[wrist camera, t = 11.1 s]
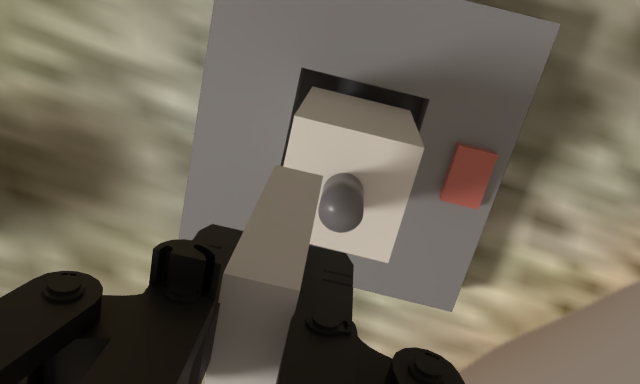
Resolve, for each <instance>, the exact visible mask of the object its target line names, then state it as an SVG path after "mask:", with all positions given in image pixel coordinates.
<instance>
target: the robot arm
mask: <svg viewBox="0 0 640 384" xmlns="http://www.w3.org/2000/svg"><path fill="white" fill-rule="evenodd" d="M322 180H323V176H322V175H317V174H313V173H309V172H304V171H300V170H296V169H292V168H287V167H283V166H279V165H275V167H274V169H273V171H272V173H271V175H270V178H269V180H268V182H267V184H266V186H265V188H264V190H263V192H262V194H261V196H260V198H259V200H258V202H257V204H256V207H255V209H254V211H253V213H252V215H251V217H250V219H249V221H248V223H247V225H246V227H245V229H244V231H241V230H237V229H233V228H228V227H224V226H220V225H215V224H211V225H209V226H207V227H205V228H203V229H201V230H199V231H198V233H197V234H196V236H195V237H194V239H193V240H186V239H180V240H170V241H166V242H163V243H160V244H159V245H158V246H156V247H155V248H154V249H153V254H152V263H151V272H150V281H149V286H148V288H147V289H146V290H145V292H144V293H143V294H138V295H129V296H111V295H102V293H103V287H102V285H101V284H100V282H99V280H97V279H96V278H94V277H92V276H91V275H88V274H85V273H81V272H77V271H59V272H52V273H47V274H44V275H42V276H39V277H37V278H34V279H33V280H31V281H29V282H27V283H25V284H24V285H22V286H20V287H18V288H17V289H15V290H13V291H11V292H10V293H8V294H6V295H4V296H3V297H1V298H0V384H201V382H202V380H203V377H204V375H205V372H206V376H205V382H204V384H465V383H464V381H463V379H462V378H461V376H460V374H459V373H458V371H457V370H456V369H455V367H454V366H453V365H452V364H451V363H450V362H448V361H447V360H446V359H444V358H443V357H442V356H440V355H438V354H436V353H433V352H431V351H429V350H425V349H420V348H404V349H402V350H400V351H398V352H396V353H395V355H394V357H393V359H392V358H390V357H388V356H385V355H383V354H381V353H379V352H377V351H375V350H374V349H372V348H370V347H369V346H367V345H366V344H365V343H364V342H362V341H361V340H360V338H359V337H358V336H357V329H356V326H355V324H354V322H353V321H352V305H353V271H354V265H353V263H352V262H351V260H350V258H349V257H348V255H347V254H346V253H343V252H339V251H334V250H330V249H326V248H321V247H317V246H313V245H309V244H310V239H311V234H312V229H313V224H314V219H315V214H316V209H317V204H318V200H319V195H320V190H321V185H322ZM206 370H207V371H206Z"/></svg>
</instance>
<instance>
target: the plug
mask: <svg viewBox="0 0 640 384" xmlns="http://www.w3.org/2000/svg"><path fill="white" fill-rule="evenodd" d="M423 151H424V145H423V143H422V140H421V137H420V135H419V132H418V129H417V127H416V124H415V122H414V119H413V116H412V114H411V111H410V110H406V109H402V108H398V107H394V106H390V105H386V104H382V103H378V102H374V101H370V100H366V99H362V98H358V97H354V96H350V95H346V94H342V93H337V92H333V91H329V90H325V89H321V88H317V87H313V86H312V88H311V90H310V91H309V93H308V94H307V96H306V98H305V99H304V101H303V102H302V104H301V106H300V107H299V109H298V110H297V112H296V114H295V115H294V119H293V124H292V128H291V133H290V138H289V142H288V147H287V151H286V156H285V161H284V165H283V167H287V168H292V169H296V170H300V171H304V172H309V173H313V174H317V175H322V176H323V180H322V185H321V190H320V195H319V200H318V204H317V209H316V214H315V219H314V224H313V229H312V234H311V239H310V244H312V245H316V246H320V247H324V248H328V249H333V250H337V251H341V252H345V253H349V254H353V255H357V256H361V257H365V258H369V259H373V260H377V261H381V262H385V263H388V262H389V259H390V256H391V253H392V250H393V246H394V243H395V240H396V237H397V234H398V230H399V227H400V224H401V221H402V218H403V215H404V211H405V208H406V205H407V202H408V199H409V196H410V192H411V189H412V186H413V183H414V180H415V176H416V173H417V170H418V167H419V164H420V161H421V157H422V154H423Z"/></svg>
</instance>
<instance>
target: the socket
mask: <svg viewBox="0 0 640 384" xmlns="http://www.w3.org/2000/svg"><path fill="white" fill-rule="evenodd" d="M560 25H561V24H559V23H555V22H551V21H547V20H543V19H539V18H535V17H531V16H527V15H523V14H519V13H515V12H511V11H507V10H503V9H499V8H495V7H490V6H486V5H482V4H478V3H474V2H470V1H466V0H214V5H213V12H212V19H211V25H210V32H209V39H208V45H207V52H206V59H205V66H204V72H203V79H202V86H201V93H200V99H199V106H198V113H197V119H196V126H195V133H194V140H193V146H192V153H191V160H190V166H189V173H188V180H187V187H186V193H185V200H184V207H183V213H182V220H181V227H180V234H179V240H180V239H186V240H193V239H194V237H195V236H196V234H197V233H198V231H199V230H201V229H203V228H205V227H207V226H209V225H211V224H215V225H220V226H224V227H228V228H233V229H237V230H241V231H244V229H245V227H246V225H247V223H248V221H249V219H250V217H251V215H252V213H253V211H254V209H255V207H256V204H257V202H258V200H259V198H260V196H261V194H262V192H263V190H264V188H265V186H266V184H267V182H268V180H269V178H270V175H271V173H272V171H273V169H274V167H275V165H279V166H283V165H284V161H285V156H286V151H287V147H288V142H289V138H290V133H291V128H292V124H293V119H294V115H295V114H296V112H297V110H298V109H299V107H300V106H301V104H302V102H303V101H304V99H305V98H306V96H307V94H308V93H309V91H310V90H311V88H312V86H313V87H317V88H321V89H325V90H329V91H333V92H337V93H342V94H346V95H350V96H354V97H358V98H362V99H366V100H370V101H374V102H378V103H382V104H386V105H390V106H394V107H398V108H402V109H406V110H410V111H411V114H412V116H413V119H414V122H415V124H416V127H417V129H418V132H419V135H420V137H421V140H422V143H423V145H424V151H423V154H422V157H421V161H420V164H419V167H418V170H417V173H416V176H415V180H414V183H413V186H412V189H411V192H410V196H409V199H408V202H407V205H406V208H405V211H404V215H403V218H402V221H401V224H400V227H399V230H398V234H397V237H396V240H395V243H394V246H393V250H392V253H391V256H390V259H389V262H388V263H385V262H381V261H377V260H373V259H369V258H365V257H361V256H357V255H353V254H349V253H346V254H347V255H348V257H349V258H350V260H351V262H352V263H353V265H354V271H353V288H357V289H361V290H365V291H369V292H373V293H377V294H381V295H385V296H390V297H394V298H398V299H402V300H406V301H410V302H414V303H418V304H422V305H426V306H430V307H434V308H438V309H442V310H446V311H450V312H452V310H453V308H454V305H455V302H456V300H457V297H458V294H459V292H460V289H461V287H462V284H463V281H464V279H465V276H466V273H467V271H468V268H469V265H470V263H471V260H472V257H473V255H474V252H475V250H476V247H477V244H478V242H479V239H480V236H481V234H482V231H483V228H484V226H485V223H486V220H487V218H488V215H489V213H490V210H491V207H492V205H493V202H494V199H495V197H496V194H497V191H498V189H499V186H500V184H501V181H502V178H503V176H504V173H505V170H506V168H507V165H508V162H509V160H510V157H511V154H512V152H513V149H514V147H515V144H516V141H517V139H518V136H519V133H520V131H521V128H522V125H523V123H524V120H525V118H526V115H527V112H528V110H529V107H530V104H531V102H532V99H533V96H534V94H535V91H536V88H537V86H538V83H539V81H540V78H541V75H542V73H543V70H544V67H545V65H546V62H547V59H548V57H549V54H550V51H551V49H552V46H553V44H554V41H555V38H556V36H557V33H558V30H559V28H560ZM309 245H312V244H309ZM313 246H316V245H313ZM317 247H320V246H317ZM321 248H324V247H321ZM326 249H328V248H326ZM330 250H333V249H330ZM334 251H337V250H334ZM339 252H341V251H339ZM343 253H345V252H343Z"/></svg>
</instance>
